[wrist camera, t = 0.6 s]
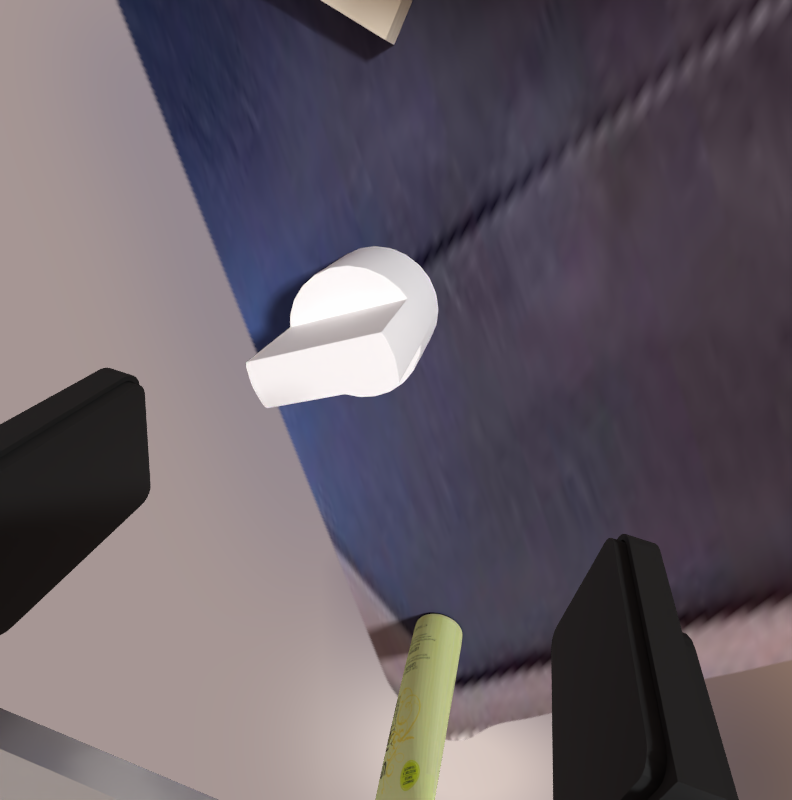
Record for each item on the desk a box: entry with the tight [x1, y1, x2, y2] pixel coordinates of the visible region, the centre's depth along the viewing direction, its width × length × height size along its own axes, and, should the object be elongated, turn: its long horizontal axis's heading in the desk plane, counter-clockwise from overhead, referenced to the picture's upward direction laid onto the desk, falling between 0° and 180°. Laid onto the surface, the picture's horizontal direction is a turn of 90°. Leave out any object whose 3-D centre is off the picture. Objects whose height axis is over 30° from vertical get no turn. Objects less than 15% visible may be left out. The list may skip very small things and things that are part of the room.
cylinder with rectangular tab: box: [246, 246, 438, 408], centre depth 33 cm, size 9×9×12 cm
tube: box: [375, 614, 462, 800], centre depth 45 cm, size 6×5×20 cm
